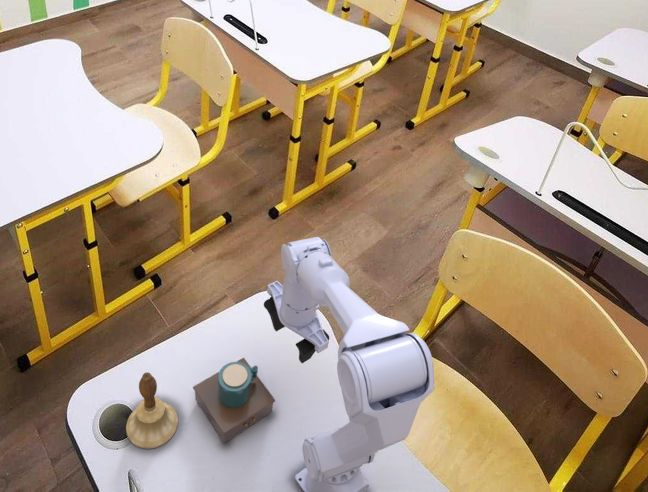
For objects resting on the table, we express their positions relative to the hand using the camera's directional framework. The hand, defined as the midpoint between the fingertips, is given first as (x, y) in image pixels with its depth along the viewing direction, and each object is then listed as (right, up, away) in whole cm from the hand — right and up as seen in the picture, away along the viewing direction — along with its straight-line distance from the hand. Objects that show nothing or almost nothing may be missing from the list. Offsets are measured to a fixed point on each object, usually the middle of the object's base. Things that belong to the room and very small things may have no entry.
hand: (292, 343), depth 101 cm
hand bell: (-23, -13, -4) cm, 27 cm away
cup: (-10, -8, -3) cm, 13 cm away
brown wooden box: (-10, -11, +1) cm, 16 cm away
